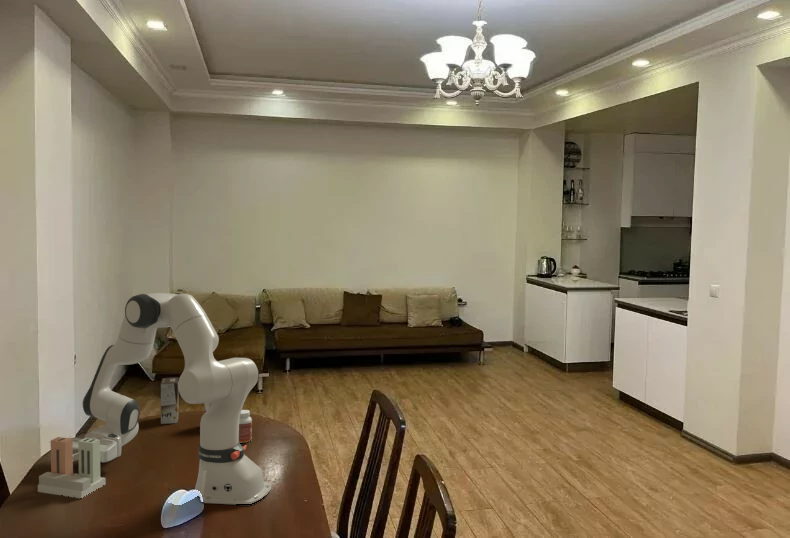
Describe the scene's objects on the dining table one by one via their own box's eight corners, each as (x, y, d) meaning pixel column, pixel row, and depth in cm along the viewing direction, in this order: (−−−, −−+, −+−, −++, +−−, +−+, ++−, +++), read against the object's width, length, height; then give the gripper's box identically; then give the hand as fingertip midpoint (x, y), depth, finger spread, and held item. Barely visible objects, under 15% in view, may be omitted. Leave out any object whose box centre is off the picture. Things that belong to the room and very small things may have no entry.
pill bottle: (254, 442, 226) (254, 412, 225) (237, 445, 223) (237, 415, 222) (248, 437, 231) (248, 408, 230) (231, 440, 228) (232, 410, 227)
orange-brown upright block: (73, 477, 188) (72, 438, 187) (65, 482, 184) (64, 442, 183) (58, 475, 189) (58, 436, 188) (50, 479, 186) (50, 440, 185)
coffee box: (178, 423, 244) (177, 383, 243) (160, 424, 242) (160, 383, 241) (178, 415, 253) (178, 376, 251) (161, 416, 251) (161, 377, 249)
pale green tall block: (100, 478, 188) (99, 439, 187) (92, 482, 184) (92, 443, 183) (86, 476, 189) (85, 437, 188) (78, 480, 186) (77, 441, 185)
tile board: (105, 484, 188) (105, 469, 188) (81, 498, 179) (81, 483, 178) (63, 478, 192) (63, 463, 192) (37, 491, 182) (37, 476, 182)
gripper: (70, 430, 203) (36, 445, 190) (125, 437, 198) (94, 453, 185) (71, 449, 204) (37, 465, 190) (125, 456, 199) (94, 473, 186)
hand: (65, 459), depth 188 cm, fingers closed, pressing on orange-brown upright block
